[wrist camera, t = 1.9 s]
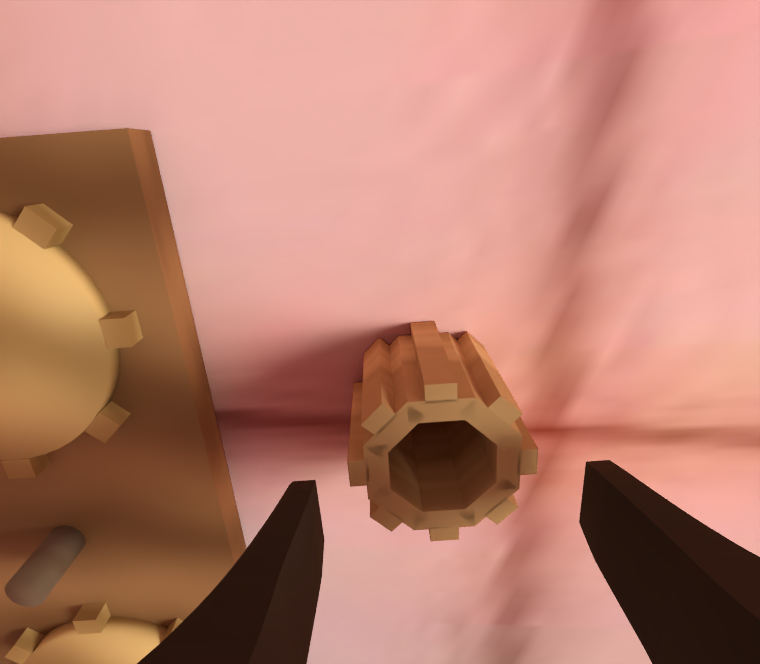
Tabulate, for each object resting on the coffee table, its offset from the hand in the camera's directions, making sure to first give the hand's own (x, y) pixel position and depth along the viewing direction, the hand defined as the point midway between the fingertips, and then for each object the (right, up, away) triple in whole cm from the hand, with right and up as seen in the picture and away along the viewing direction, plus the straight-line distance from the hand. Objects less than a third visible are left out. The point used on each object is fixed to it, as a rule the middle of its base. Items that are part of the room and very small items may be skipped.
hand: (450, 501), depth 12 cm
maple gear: (0, +2, +6) cm, 7 cm away
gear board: (-15, -3, +8) cm, 17 cm away
